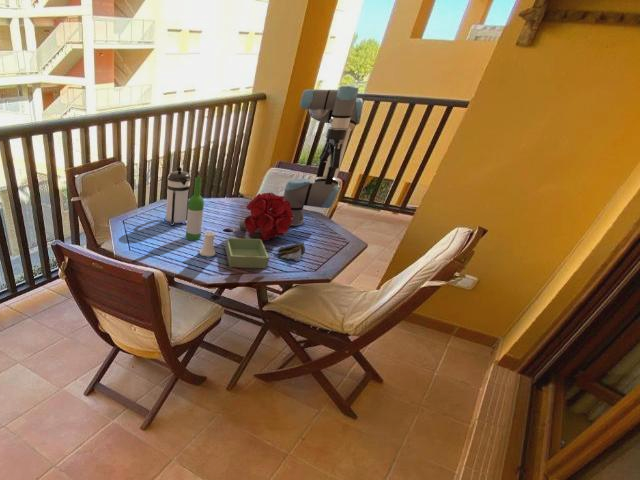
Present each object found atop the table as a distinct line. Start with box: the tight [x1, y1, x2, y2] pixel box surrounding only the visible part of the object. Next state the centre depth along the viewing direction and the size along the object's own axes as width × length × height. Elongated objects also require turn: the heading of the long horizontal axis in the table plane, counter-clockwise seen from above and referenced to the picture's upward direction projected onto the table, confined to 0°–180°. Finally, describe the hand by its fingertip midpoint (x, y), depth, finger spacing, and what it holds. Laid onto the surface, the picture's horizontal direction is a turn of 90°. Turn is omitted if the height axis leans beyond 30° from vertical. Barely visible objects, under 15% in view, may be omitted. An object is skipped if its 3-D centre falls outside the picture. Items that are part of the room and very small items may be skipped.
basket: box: [224, 237, 270, 269], centre depth 182 cm, size 22×17×5 cm
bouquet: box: [238, 192, 294, 242], centre depth 199 cm, size 22×24×30 cm
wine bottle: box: [185, 177, 205, 241], centre depth 195 cm, size 8×8×30 cm
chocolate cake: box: [277, 242, 306, 262], centre depth 181 cm, size 10×7×12 cm
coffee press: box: [163, 166, 192, 227], centre depth 216 cm, size 17×16×30 cm
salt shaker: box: [199, 231, 216, 258], centre depth 184 cm, size 8×8×10 cm
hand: (323, 180), depth 178 cm, fingers open, 13 cm apart
